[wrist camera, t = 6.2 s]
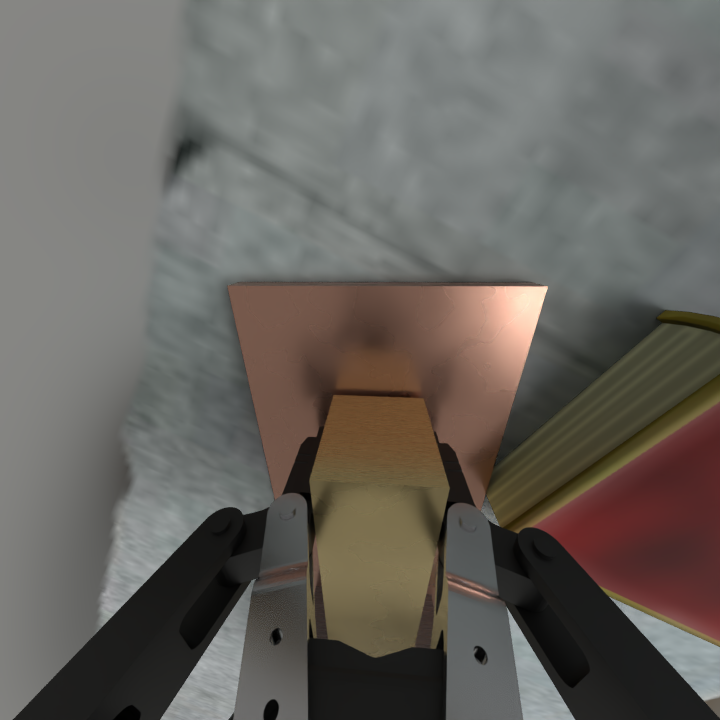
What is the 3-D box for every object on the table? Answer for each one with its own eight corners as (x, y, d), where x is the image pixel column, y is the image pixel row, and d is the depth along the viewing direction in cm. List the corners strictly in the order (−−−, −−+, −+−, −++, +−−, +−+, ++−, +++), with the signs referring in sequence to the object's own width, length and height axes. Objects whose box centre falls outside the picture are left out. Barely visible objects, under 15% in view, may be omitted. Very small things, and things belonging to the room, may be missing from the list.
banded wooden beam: (333, 394, 11) (309, 480, 7) (423, 398, 11) (450, 488, 7) (344, 621, 21) (336, 714, 17) (393, 626, 21) (397, 720, 17)
